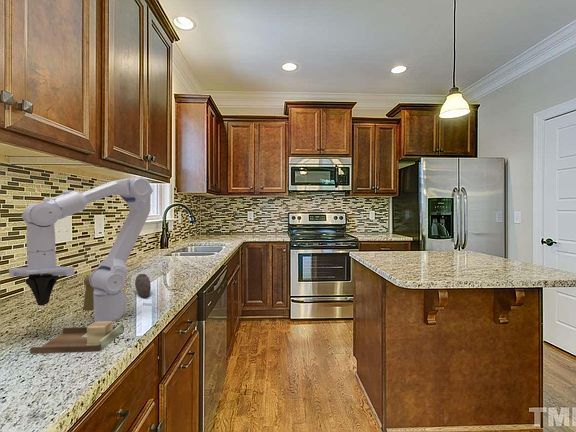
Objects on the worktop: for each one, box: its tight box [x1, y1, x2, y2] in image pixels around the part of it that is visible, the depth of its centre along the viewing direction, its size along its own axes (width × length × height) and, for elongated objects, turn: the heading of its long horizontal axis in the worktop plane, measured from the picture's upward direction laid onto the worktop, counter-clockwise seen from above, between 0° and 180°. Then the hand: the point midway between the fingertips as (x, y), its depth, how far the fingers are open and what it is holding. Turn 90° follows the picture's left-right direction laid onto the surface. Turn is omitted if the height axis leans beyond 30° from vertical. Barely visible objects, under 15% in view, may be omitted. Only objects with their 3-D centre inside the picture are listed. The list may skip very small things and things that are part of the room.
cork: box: [83, 274, 94, 311], centre depth 108 cm, size 6×6×11 cm
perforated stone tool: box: [134, 273, 152, 297], centre depth 124 cm, size 15×5×7 cm, turn 28°
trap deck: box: [29, 323, 125, 355], centre depth 78 cm, size 12×15×4 cm
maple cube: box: [86, 321, 114, 344], centre depth 78 cm, size 4×4×4 cm
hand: (43, 304), depth 81 cm, fingers closed
